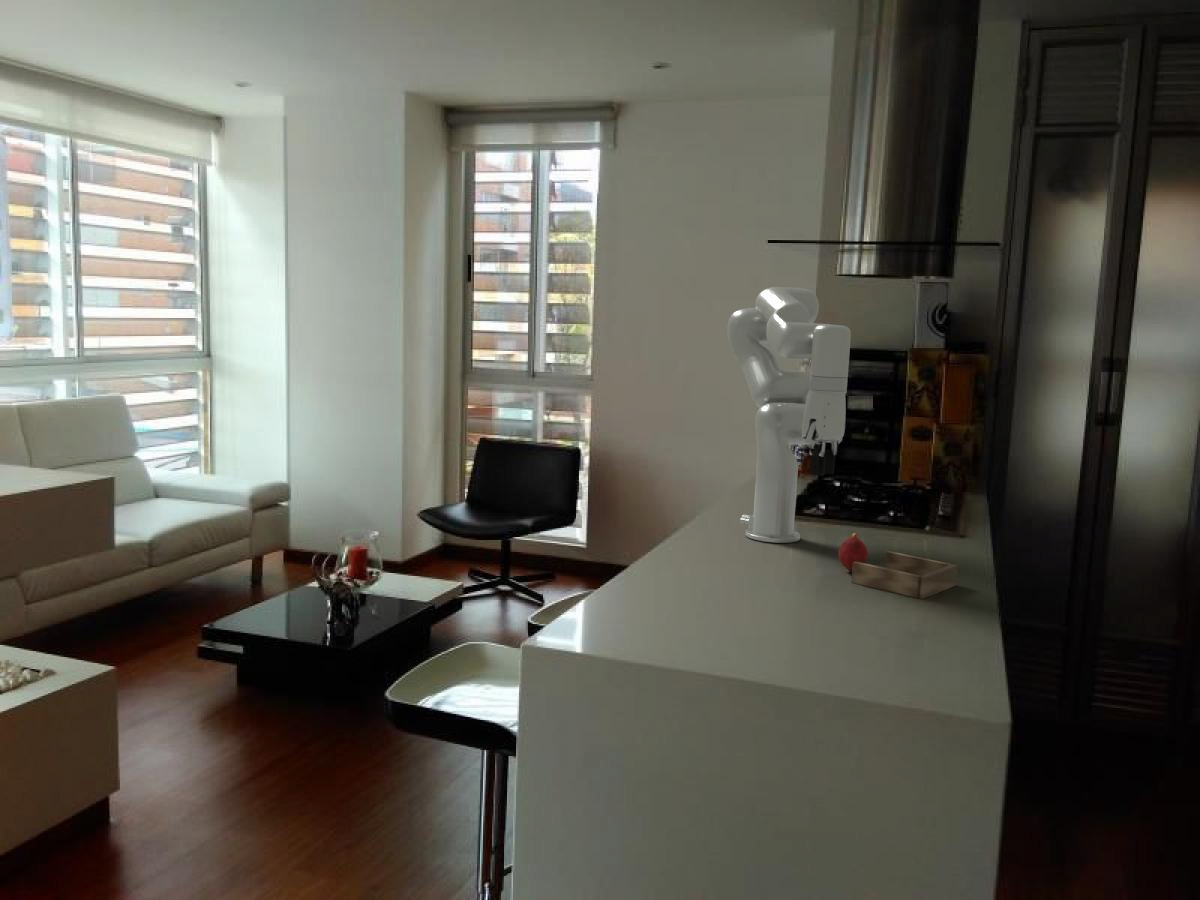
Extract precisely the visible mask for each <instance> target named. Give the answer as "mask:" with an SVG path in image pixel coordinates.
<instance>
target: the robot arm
mask: <svg viewBox="0 0 1200 900" xmlns="http://www.w3.org/2000/svg"><path fill="white" fill-rule="evenodd" d="M819 309H820V303H819V299H818V297H817V294H816V293H814V291H812V290H811V289H810V288H803V287H789V286H787V287H785V286H784V287H783V286H773V287H767V288H765V289H763V290H762V291H760V293H759V294H758V295H757V297H756V300H755V307H747V308H743V309H742V308H741V309H739V310H736V311H734V312H733V313H732V314H731V315H730V316H729V319H728V321H727V322H728V323H727V338H728V339H727V340H728V344H729V347H730V350H731V353H732V354H733V356H734V358H735V359H736V361H737V362H738V365H740V368H741V370H742V371H743V374H744V379H745V381H746V383H747V386H748V389H749V392H750V395H751V399H752V401H753V403H754V404H755V406H756V407H757V408H758V409H757V411H756V414H755V419H754V425H755V426H754V427H755V436H756V469H755V486H754V500H753V514H752V515H750V514H745V513H744V514H742V515H741V517H740V519H739V522H740V523H741V524H745V525H748V528H746V529H745V536H746V537H747V538H748V539H749V538H750V539H751V540H754V541H755V540H756V541H759V542H766V543H773V544H776V543H777V544H787V543H795V542H798V541H800V540H801V534H800V533H799V532H798V531H795V529H794V528H795V516H796V515H795V514H796V502H797V488H798V476H799V475H798V473H799V463H798V460H797V457H796V456H795V454H794V453H793V451H792V449H791V448H790V446H792V445H806V446H807V447H808V449H809V456H810V462H809V474H810V475H814V476H821V477H823V476H825V474H826V475H833V474H834V473H835V465H836V463H835V461H836V455H837V453H838V446H839V444H840V443H841V442H842V441H843V437H844V435H845V432H846V431H845V430H846V418H847V417H846V414H847V413H846V411H847V409H846V408H847V407H846V404H847V403H846V394H847V390H848V389H847V388H848V380H849V379H848V377H849V365H850V364H849V363H850V352H851V351H850V349H851V338H852V337H851V335H852V334H851V333H852V331H851V329H850V328H849V327H848V326H846V325H841V324H840V325H838V324H831V323H830V324H829V323H815V320H817V317H818V315H819V311H820V310H819ZM762 344H768V346H769V348H771V349H772V351H773V352H774V353H776V355H778V356H780V357H782V358H787V359H809V360H810V373H808V372H805V371H791V370H789V371H788V370H783V369H782V368H780V366H779V362H778V360H777V358H776V356H775V355H774V353H772V351H770V350H769V349H768V348H766V347H765V346H764V345H762Z"/></svg>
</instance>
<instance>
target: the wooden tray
mask: <svg viewBox="0 0 1200 900" xmlns="http://www.w3.org/2000/svg"><path fill="white" fill-rule="evenodd" d="M884 562H885V563H884V567H883V566H879V565H874V564H869V563H866V562H865V563H861V562H853V568H852V572H851V583H852V584H857V585H860V586H861V585H862V586H865V587H870V588H874V589H876V590H877V589H879V590H881V591H887V592H890V593H891V592H892V593H896V594H898V595H904V596H908V597H912V598H917V599H921V600H924V599H926V598H929V597H931V596H934V595H936V594H938V593H940V592H944V591H946V590H948V589H950V588H952V587H956V586H957V584H958V583H957V582H958V572H959V564H953V563H949V562H944V561H939V560H933V559H930V558H924V557H919V556H914V555H911V554H910V555H909V554H906V553H900V552H897V551H896V552H895V551H892V550H891V551H890V550H888V551H886V552H885V560H884Z"/></svg>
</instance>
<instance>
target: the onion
mask: <svg viewBox="0 0 1200 900" xmlns="http://www.w3.org/2000/svg"><path fill="white" fill-rule="evenodd" d="M837 554H838V560H839V561H840V564H841V565H842V566H843V567H844V568H845V569H847V571H848V572H850V573H852V568H853V562H861V563H865V564H866V563H867V560H868V558H869V552H868V549H867V546H866V544H865V543H864V542H863V541H862V540H861V539H860V538H859V537H858V534H857V533H852V535H850V537H849V538H848V539H846V540H843V542H842V543H841V545H840V546H839V549H838V552H837Z"/></svg>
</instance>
